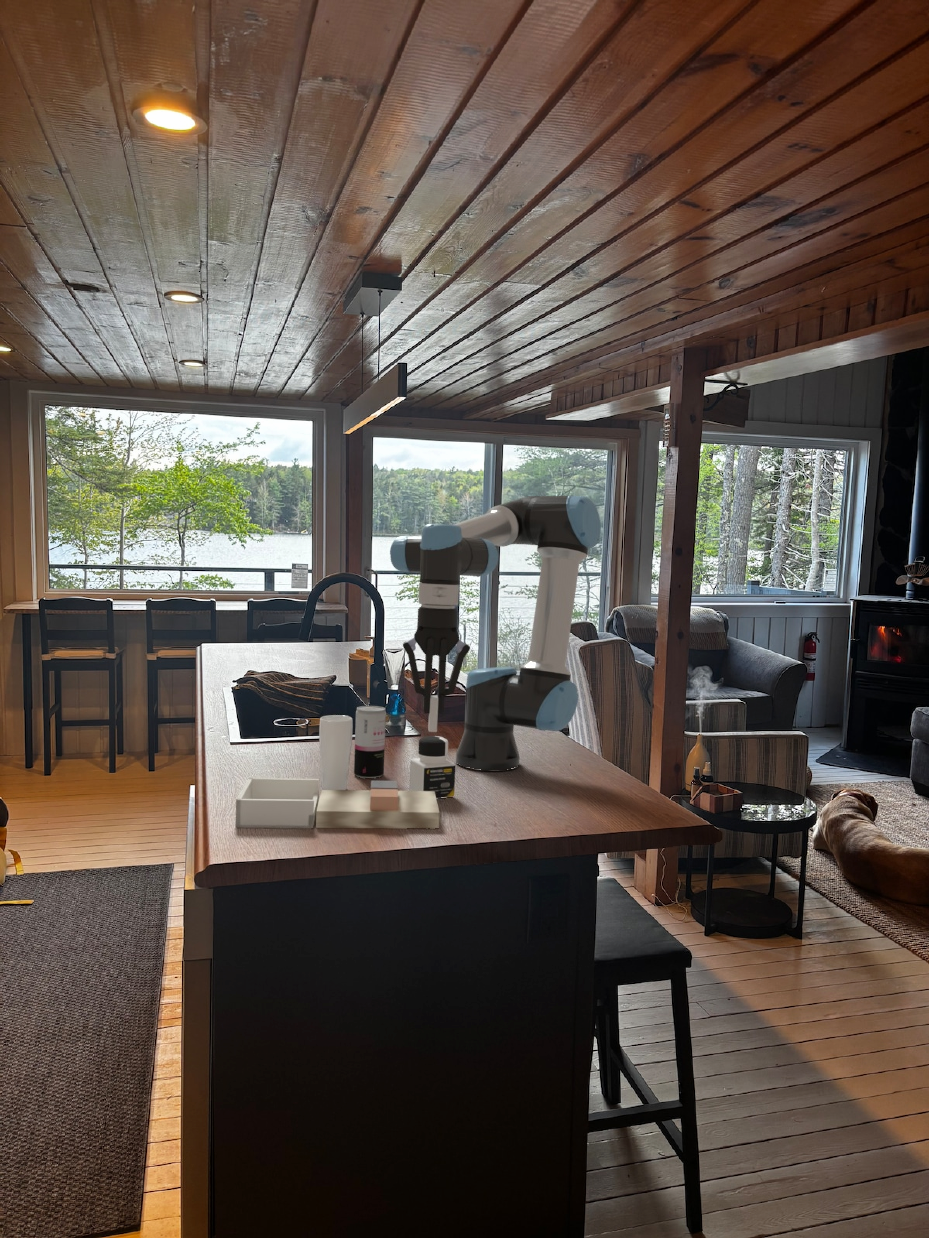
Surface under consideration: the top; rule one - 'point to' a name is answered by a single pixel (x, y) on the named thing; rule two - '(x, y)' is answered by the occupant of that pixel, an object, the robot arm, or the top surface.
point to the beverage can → (369, 741)
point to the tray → (277, 803)
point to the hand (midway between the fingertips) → (432, 730)
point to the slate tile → (384, 785)
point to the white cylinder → (335, 751)
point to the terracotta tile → (384, 799)
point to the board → (356, 812)
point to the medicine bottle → (433, 768)
